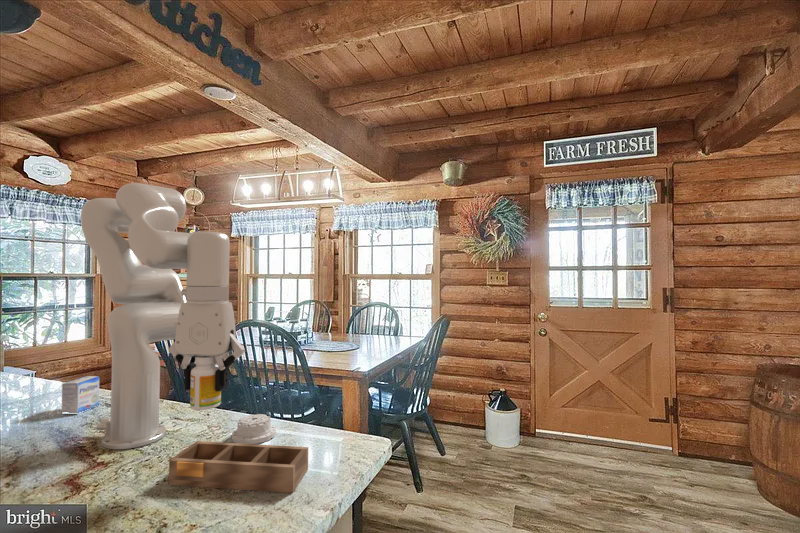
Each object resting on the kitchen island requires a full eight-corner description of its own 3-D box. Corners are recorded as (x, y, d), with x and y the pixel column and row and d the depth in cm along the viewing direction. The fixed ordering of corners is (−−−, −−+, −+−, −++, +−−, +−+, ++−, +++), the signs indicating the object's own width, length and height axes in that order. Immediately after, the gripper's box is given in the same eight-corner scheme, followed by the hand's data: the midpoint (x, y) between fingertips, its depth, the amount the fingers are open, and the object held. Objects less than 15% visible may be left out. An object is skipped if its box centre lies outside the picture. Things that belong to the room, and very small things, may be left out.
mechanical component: (222, 443, 93) (262, 447, 91) (222, 424, 93) (262, 428, 91) (247, 427, 103) (283, 431, 101) (247, 410, 103) (283, 413, 101)
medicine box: (77, 415, 109) (78, 383, 109) (60, 415, 109) (61, 383, 109) (99, 405, 117) (100, 375, 117) (84, 405, 117) (84, 375, 117)
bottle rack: (167, 486, 74) (167, 461, 74) (196, 463, 83) (196, 441, 83) (292, 494, 72) (292, 468, 72) (308, 469, 80) (308, 447, 81)
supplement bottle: (226, 402, 80) (227, 353, 81) (209, 411, 75) (210, 359, 75) (202, 400, 81) (203, 352, 81) (183, 409, 76) (184, 357, 76)
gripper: (153, 295, 76) (151, 392, 75) (240, 297, 74) (239, 396, 74) (178, 293, 83) (176, 382, 83) (258, 295, 82) (257, 385, 81)
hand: (206, 387), depth 78 cm, fingers closed on supplement bottle, 5 cm apart
